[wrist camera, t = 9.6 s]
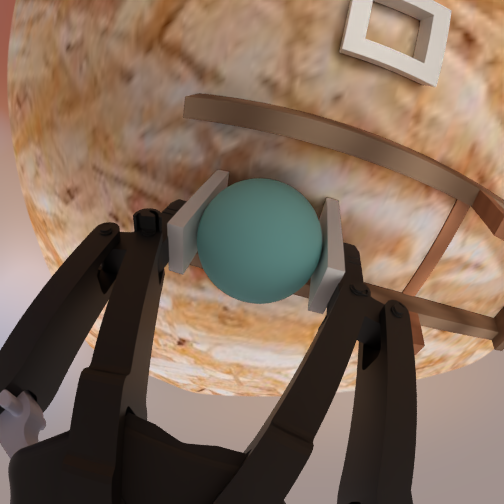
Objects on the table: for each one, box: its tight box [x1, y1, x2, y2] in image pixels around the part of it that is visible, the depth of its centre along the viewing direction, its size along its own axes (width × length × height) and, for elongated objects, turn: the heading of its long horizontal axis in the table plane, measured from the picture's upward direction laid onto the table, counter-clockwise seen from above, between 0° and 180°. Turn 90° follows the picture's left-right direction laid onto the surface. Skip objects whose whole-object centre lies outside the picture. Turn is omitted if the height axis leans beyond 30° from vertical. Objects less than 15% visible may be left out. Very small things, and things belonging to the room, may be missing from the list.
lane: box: [183, 94, 504, 355], centre depth 14 cm, size 31×11×5 cm, turn 80°
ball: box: [197, 178, 322, 304], centre depth 13 cm, size 6×6×6 cm
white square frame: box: [339, 0, 451, 87], centre depth 8 cm, size 5×5×2 cm
